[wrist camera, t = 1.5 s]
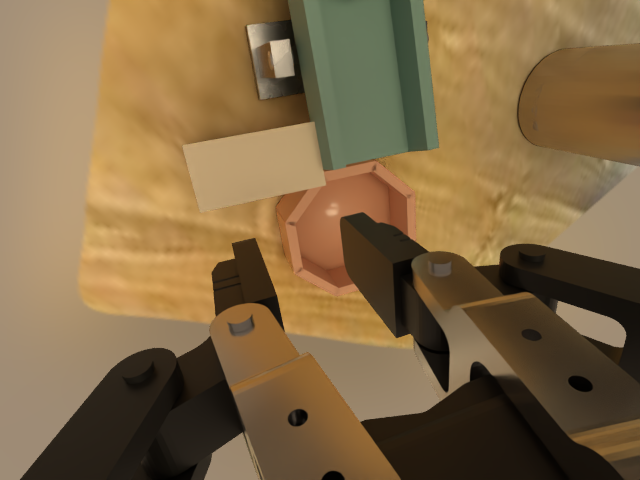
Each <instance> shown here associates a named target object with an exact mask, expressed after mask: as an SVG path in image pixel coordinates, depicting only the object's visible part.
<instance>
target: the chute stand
mask: <svg viewBox="0 0 640 480" xmlns="http://www.w3.org/2000/svg"><path fill="white" fill-rule="evenodd" d="M425 23H426V32H427V21H425ZM245 29H246V35H247V40H248V45H249V51H250V56H251V61H252V67H253V72H254V77H255V83H256V88H257V93H258V99H260V100H262V99H268V98H274V97H280V96H287V95H293V94H299V93H305V91H304V85H303V80H302V75H301V69H300V64H299V58H298V53H297V48H296V42H295V37H294V32H293V26H292V21H291V20H286V21H278V22H269V23H261V24H252V25H246V26H245ZM428 40H429V37H428V33H427V41H428Z"/></svg>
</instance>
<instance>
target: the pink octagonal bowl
mask: <svg viewBox="0 0 640 480" xmlns="http://www.w3.org/2000/svg"><path fill="white" fill-rule="evenodd" d="M323 171H324V176H325V182H326V185H325V186H321V187H316V188H311V189H307V190H302V191H298V192H293V193H289V194H284V196H283V197H282V199H281V200H280V202H279V203H278V205H277V206H276V213H277V218H278V223H279V228H280V233H281V239H282V244H283V249H284V254H285V256H286V258H287V260H288V262H289V264H290V266H291V268H292V270H293V272H294V274H295V275H297V276H299V277H301V278H303V279H304V280H306V281H308V282H310V283H312V284H314V285H316V286H318V287H319V288H321V289H323V290H325V291H327V292H329V293H331V294H333V295H334V296H340V295H343V294H347V293H350V292H354V291H357V290H359V289H358V288H357V287H356V285H355V284H354V283H353V282H352V280H351V279H350V277H349V276H348V273H347V271H346V268H345V264H344V257H343V248H342V240H341V231H340V218H341V217H344V216H348V215H352V214H356V213H360V212H364V213H365V214H367V215H368V216H369V217H370V218H372V219H373V220H374V221H375V222H377V223H380V222H383V223H386V224H389V225H392V226H395V227H396V228H398V229H399V230H400V231H402V232H403V234H406V235H407V236H408V237H410V239H413V240H414V241H416V211H415V191H413V190H412V189H411V188H410V187H408V186H407V185H406V184H405V183H403V182H402V181H401V180H400V179H398V178H397V177H396V176H395V175H394V174H392V173H391V172H390V171H389V170H387V169H386V168H385V167H384V166H382V165H381V164H380V163H379V162H377V161H376V160H373V159H371V160H367V161H362V162H357V163H352V164H348V165H346V168H341V169H337V170H323Z"/></svg>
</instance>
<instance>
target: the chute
mask: <svg viewBox="0 0 640 480" xmlns="http://www.w3.org/2000/svg"><path fill="white" fill-rule="evenodd" d="M288 5H289V10H290V16H291V21H292V26H293V32H294V37H295V42H296V48H297V53H298V58H299V64H300V69H301V75H302V80H303V85H304V91H305V96H306V101H307V107H308V112H309V117H310V122H309V123H303V124H297V125H292V126H286V127H281V128H275V129H270V130H264V131H259V132H253V133H247V134H242V135H236V136H231V137H225V138H220V139H214V140H209V141H203V142H197V143H192V144H186V145H182V148H183V151H184V155H185V159H186V163H187V166H188V170H189V174H190V177H191V181H192V185H193V188H194V192H195V196H196V200H197V203H198V207H199V211H200V213H202V212H207V211H211V210H216V209H220V208H225V207H230V206H234V205H239V204H243V203H248V202H252V201H257V200H261V199H266V198H271V197H275V196H280V195H284V194H289V193H293V192H298V191H302V190H307V189H311V188H316V187H321V186H325V185H326V182H325V176H324V171H323V170H337V169H341V168H346V165H348V164H352V163H357V162H362V161H367V160H371V159H376V158H381V157H386V156H390V155H395V154H400V153H405V152H411V151H424V150H431V149H436V148H439V142H438V133H437V123H436V114H435V105H434V96H433V87H432V78H431V68H430V59H429V50H428V41H427V32H426V23H425V14H424V4H423V0H288Z"/></svg>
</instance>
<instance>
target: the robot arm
mask: <svg viewBox="0 0 640 480" xmlns="http://www.w3.org/2000/svg"><path fill="white" fill-rule="evenodd" d="M519 123H520V127H521V130H522V132H523V134H524V136H525V137H526V138H527V140H529V141H530V142H531V143H533V144H535V145H538V146H541V147H546V148H551V149H556V150H561V151H566V152H571V153H575V154H580V155H585V156H590V157H595V158H600V159H605V160H610V161H615V162H620V163H625V164H630V165H635V166H640V43H637V44H624V45H610V46H595V47H581V48H568V49H561V50H558V51H556V52H553V53H551V54H550V55H549V56H547V57H546V58H544V59H543V60H542V61H541V62H540V63H539V64H538V65H537V66H536V67H535V69H534V70H533V71H532V73H531V74H530V76H529V78H528V80H527V81H526V83H525V85H524V88H523V91H522V94H521V97H520V103H519ZM340 231H341V240H342V248H343V257H344V264H345V268H346V271H347V273H348V276H349V277H350V279H351V280H352V282H353V283H354V284H355V285H356V287H357V288H358V289H359V291H360V292H361V293H362V294H363V296H364V297H365V298H366V300H367V301H368V302H369V303H370V305H371V306H372V307H373V309H374V310H375V311H376V313H377V314H378V315H379V316H380V318H381V319H382V320H383V322H384V323H385V324H386V325H387V327H388V328H389V329H390V331H391V332H392V333H393V334H394V336H395V337H396V338H398V337H401V336H405V335H408V334H411V335H412V336H413V346H414V352H415V355H416V357H417V358H418V360H419V362H420V364H421V366H422V368H423V370H424V372H425V373H426V375H427V377H428V379H429V381H430V383H431V385H432V387H433V388H434V390H435V392H436V394H437V396H438V398H439V400H440V402H439V403H438V404H436V405H435V406H433V407H432V408H431V409H429V410H428V411H426V412H423V413H418V414H409V415H402V416H394V417H386V418H378V419H369V420H364V421H362V422H360V421H359V420H358V418H357V417H356V416H355V414H354V413H353V411H352V410H351V409H350V407H349V406H348V404H347V403H346V402H345V400H344V399H343V397H342V396H341V395H340V393H339V392H338V391H337V389H336V388H335V386H334V385H333V384H332V382H331V381H330V379H329V378H328V377H327V375H326V374H325V372H324V371H323V370H322V368H321V367H320V365H319V364H318V363H317V361H316V360H315V358H314V357H313V356H312V355H311V354H310V353H309V352H307V353H304V354H302V355H299V353H298V352H297V350H296V349H295V347H294V346H293V344H292V343H291V341H290V340H289V338H288V337H287V335H286V334H285V331H284V326H283V322H282V317H281V312H280V308H279V303H278V298H277V294H276V292H275V289H274V286H273V284H272V281H271V279H270V276H269V273H268V271H267V268H266V265H265V263H264V260H263V258H262V255H261V252H260V250H259V247H258V244H257V242H256V239H255V238H252V239H248V240H244V241H240V242H235V243H232V247H233V251H234V255H235V259H231V260H227V261H223V262H219V263H218V264H217V265H216V267H215V268H214V270H213V271H212V281H213V290H214V303H215V314H216V317H215V319H214V320H213V321H212V323H211V325H210V329H209V331H210V337H209V338H208V339H207V340H206V341H205V342H203V343H202V344H201V345H200V346H198V347H197V348H195V349H193V350H191V351H189V352H187V353H185V354H184V355H182V356H180V357H178V358H176V356H175V354H174V353H173V352H172V351H170V350H168V349H164V348H152V349H147V350H143V351H140V352H137V353H135V354H133V355H131V356H129V357H127V358H125V359H124V360H122V361H121V362H119V363H118V364H117V365H116V366H115V367H113V368H112V369H111V370H110V371H109V372H108V374H107V375H106V376H105V377H104V378H103V380H102V381H101V382H100V383H99V385H98V386H97V387H96V388H95V389H94V391H93V392H92V393H91V394H90V396H89V397H88V398H87V399H86V400H85V401H84V403H83V404H82V405H81V406H80V408H79V409H78V410H77V411H76V412H75V414H74V415H73V416H72V417H71V418H70V420H69V421H68V422H67V423H66V424H65V426H64V427H63V428H62V429H61V431H60V432H59V433H58V434H57V435H56V437H55V438H54V439H53V440H52V441H51V443H50V444H49V445H48V446H47V448H46V449H45V450H44V451H43V452H42V454H41V455H40V456H39V457H38V458H37V460H36V461H35V462H34V463H33V465H32V466H31V467H30V468H29V469H28V471H27V472H26V473H25V474H24V475H23V477H22V478H21V479H20V480H204V478H205V475H206V473H207V470H208V468H209V465H210V462H211V457H212V453H213V452H214V451H216V450H217V449H219V448H220V447H222V446H223V445H224V444H226V443H227V442H229V441H230V440H232V439H233V438H235V437H236V436H238V435H239V434H240V433H242V434H243V436H244V439H245V442H246V445H247V448H248V451H249V454H250V456H251V459H252V462H253V465H254V468H255V471H256V473H257V476H258V479H259V480H640V269H638V268H633V267H629V266H626V265H621V264H617V263H613V262H609V261H604V260H600V259H596V258H592V257H588V256H584V255H579V254H575V253H571V252H567V251H563V250H558V249H554V248H550V247H546V246H541V245H536V244H516V245H511V246H508V247H506V248H504V249H503V250H502V251H501V253H500V262H499V265H489V266H477V267H473V266H472V265H471V264H470V263H469V262H468V261H467V260H466V259H465V258H463V257H462V256H460V255H457V254H454V253H450V252H441V251H436V252H429V251H427V250H426V249H425V248H423V247H422V246H421V245H419V244H418V243H417V242H415V241H414V240H413V239H410V237H408V236H407V235H406V234H403V232H402V231H400V230H399V229H398V228H396V227H395V226H392V225H389V224H386V223H383V222H380V223H377V222H375V221H374V220H373V219H372V218H370V217H369V216H368V215H367V214H365V213H364V212H360V213H356V214H352V215H348V216H344V217H341V218H340ZM558 301H561V302H564V303H567V304H571V305H574V306H577V307H580V308H583V309H586V310H589V311H592V312H595V313H598V314H601V315H604V316H608V317H610V318H612V319H614V320H616V321H618V322H619V323H620V324H621V325H622V326H623V327H624V329H625V331H626V335H627V336H626V340H625V344H624V347H623V348H619V347H613V346H611V345H608V344H605V343H602V342H600V341H597V340H594V339H592V338H589V337H586V336H583V335H581V334H579V333H578V332H577V331H576V330H575V329H574V328H572V327H571V326H570V325H569V324H568V323H567V322H565V321H564V320H563V319H562V318H561V317H559V316H558V315H557V314H556V308H557V303H558Z"/></svg>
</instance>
